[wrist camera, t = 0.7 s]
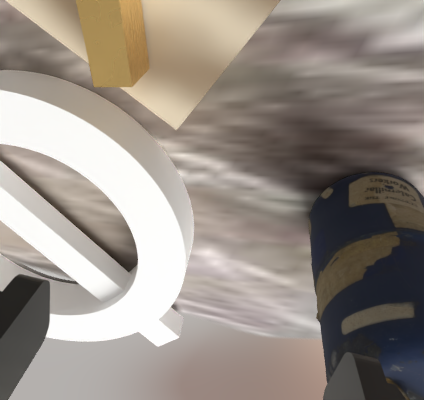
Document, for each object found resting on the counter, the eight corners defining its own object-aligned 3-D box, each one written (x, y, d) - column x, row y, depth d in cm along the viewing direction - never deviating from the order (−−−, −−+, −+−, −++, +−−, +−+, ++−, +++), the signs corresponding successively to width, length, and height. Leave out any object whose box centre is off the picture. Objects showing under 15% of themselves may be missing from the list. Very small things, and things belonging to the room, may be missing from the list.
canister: (340, 268, 37) (384, 485, 23) (284, 200, 34) (294, 405, 19) (442, 224, 33) (579, 455, 18) (390, 142, 30) (509, 346, 15)
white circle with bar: (185, 324, 46) (177, 360, 42) (-40, 285, 47) (-69, 316, 43) (207, 95, 30) (197, 118, 26) (-135, 46, 31) (-193, 61, 27)
